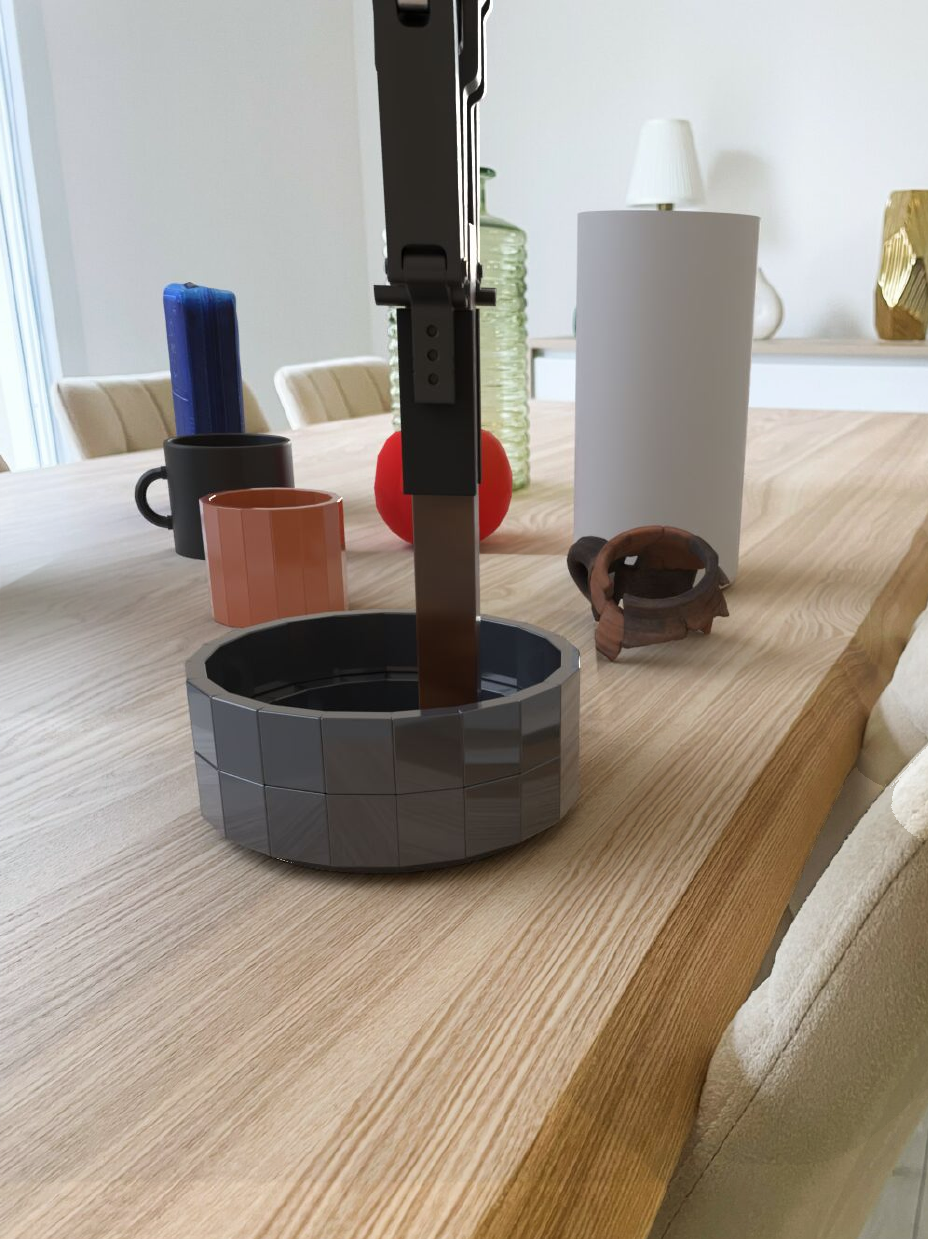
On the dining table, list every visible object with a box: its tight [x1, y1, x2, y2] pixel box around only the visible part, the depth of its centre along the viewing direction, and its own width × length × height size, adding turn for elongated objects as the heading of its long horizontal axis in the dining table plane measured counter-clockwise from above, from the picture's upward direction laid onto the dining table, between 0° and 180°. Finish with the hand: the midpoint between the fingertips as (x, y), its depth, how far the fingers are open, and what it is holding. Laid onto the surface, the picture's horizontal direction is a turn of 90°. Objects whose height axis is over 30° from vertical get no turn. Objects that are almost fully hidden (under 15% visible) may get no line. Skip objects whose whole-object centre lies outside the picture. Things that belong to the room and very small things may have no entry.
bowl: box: [183, 608, 582, 875], centre depth 50 cm, size 16×16×6 cm
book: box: [162, 281, 247, 437], centre depth 111 cm, size 14×5×20 cm, turn 25°
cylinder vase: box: [572, 209, 762, 590], centre depth 87 cm, size 12×12×25 cm
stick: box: [404, 222, 482, 710], centre depth 48 cm, size 2×2×20 cm
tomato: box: [373, 424, 514, 545], centre depth 101 cm, size 12×12×10 cm
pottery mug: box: [566, 525, 731, 662], centre depth 74 cm, size 12×10×8 cm
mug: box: [134, 432, 296, 561], centre depth 94 cm, size 9×12×9 cm
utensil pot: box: [199, 487, 350, 629], centre depth 76 cm, size 8×8×8 cm
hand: (444, 486), depth 47 cm, fingers closed on stick, 2 cm apart
